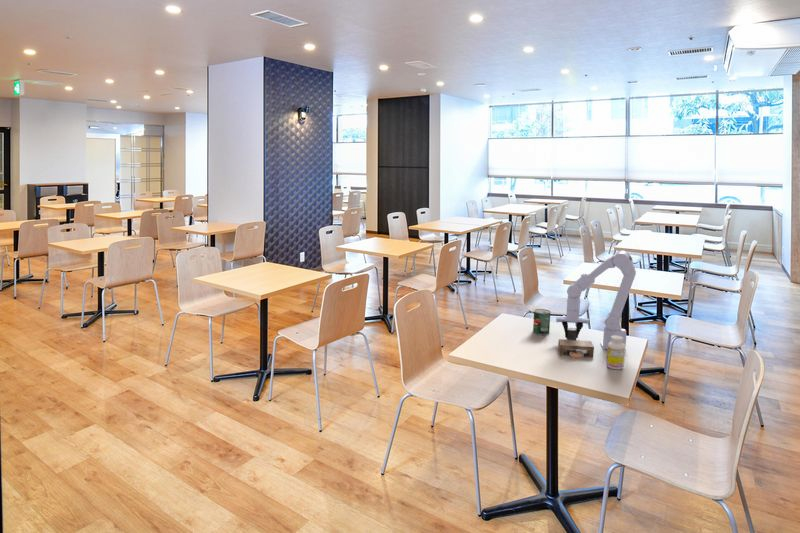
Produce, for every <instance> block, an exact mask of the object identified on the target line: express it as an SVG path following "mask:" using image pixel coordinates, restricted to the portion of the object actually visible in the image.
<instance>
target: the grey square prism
mask: <svg viewBox="0 0 800 533" xmlns="http://www.w3.org/2000/svg"><path fill="white" fill-rule="evenodd" d="M576 336H577V330H576V327H568V330H567V338H566V337H565V340H577V338H576ZM567 350H568V353H569V352H570V351H581V352H582V350H576V349H567Z"/></svg>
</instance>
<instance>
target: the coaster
mask: <svg viewBox="0 0 800 533" xmlns="http://www.w3.org/2000/svg"><path fill="white" fill-rule="evenodd" d="M568 353H569V354H568V356H569V357H571V358H573V359H583V358H584V356H585V355H584V354H585V353H584V352H583V351H582V350H581V351H570V352H569V351H568Z"/></svg>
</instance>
